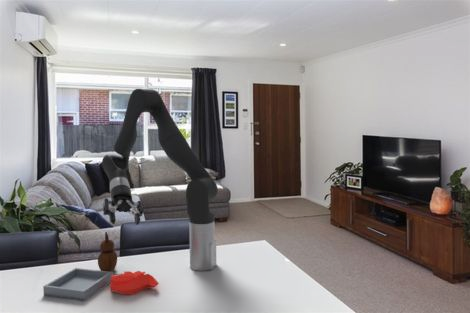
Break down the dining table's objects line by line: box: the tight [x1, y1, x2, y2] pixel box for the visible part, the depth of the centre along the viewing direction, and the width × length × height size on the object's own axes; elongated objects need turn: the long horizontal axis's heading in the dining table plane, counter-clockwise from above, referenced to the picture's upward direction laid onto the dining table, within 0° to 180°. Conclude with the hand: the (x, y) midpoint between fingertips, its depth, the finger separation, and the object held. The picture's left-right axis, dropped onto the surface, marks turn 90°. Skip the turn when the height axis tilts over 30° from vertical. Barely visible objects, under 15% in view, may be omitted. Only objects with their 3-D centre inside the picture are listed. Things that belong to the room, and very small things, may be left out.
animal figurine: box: [109, 270, 160, 295], centre depth 113 cm, size 12×15×5 cm
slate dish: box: [42, 267, 114, 302], centre depth 114 cm, size 15×15×3 cm
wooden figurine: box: [97, 231, 118, 272], centre depth 126 cm, size 7×6×15 cm
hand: (126, 222), depth 126 cm, fingers open, 8 cm apart
